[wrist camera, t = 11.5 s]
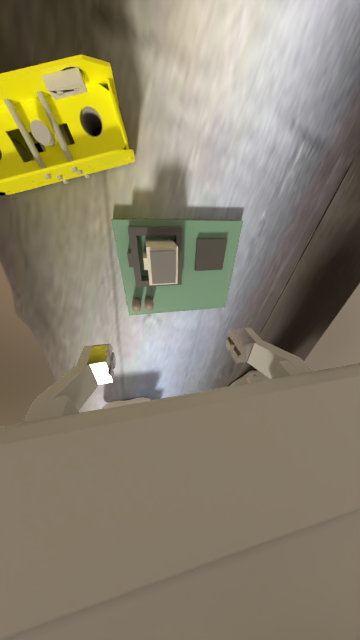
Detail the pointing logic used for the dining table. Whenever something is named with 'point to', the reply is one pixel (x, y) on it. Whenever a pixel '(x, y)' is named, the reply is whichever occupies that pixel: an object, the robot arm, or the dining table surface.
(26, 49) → the dining table surface
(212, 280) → the board
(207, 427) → the robot arm
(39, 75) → the yellow toy chassis
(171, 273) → the plug
